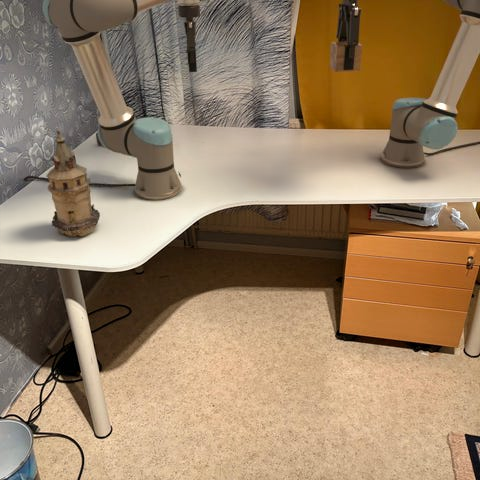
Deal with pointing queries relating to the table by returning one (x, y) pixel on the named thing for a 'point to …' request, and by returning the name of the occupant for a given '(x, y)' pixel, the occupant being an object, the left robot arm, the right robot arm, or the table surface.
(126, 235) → the table surface
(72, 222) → the miniature building
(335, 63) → the block
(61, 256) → the table surface
